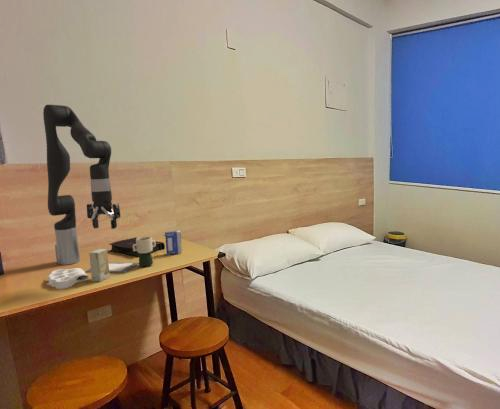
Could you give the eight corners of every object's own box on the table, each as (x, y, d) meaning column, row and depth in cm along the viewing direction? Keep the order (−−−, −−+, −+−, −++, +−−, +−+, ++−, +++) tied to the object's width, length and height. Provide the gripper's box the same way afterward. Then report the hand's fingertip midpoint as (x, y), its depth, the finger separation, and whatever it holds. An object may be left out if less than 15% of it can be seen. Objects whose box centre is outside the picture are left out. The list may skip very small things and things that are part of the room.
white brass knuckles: (90, 283, 133) (49, 293, 124) (81, 272, 147) (43, 280, 138) (89, 275, 133) (47, 284, 124) (80, 264, 147) (42, 272, 138)
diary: (137, 244, 193) (136, 236, 192) (165, 250, 179) (164, 241, 178) (108, 252, 178) (107, 243, 177) (136, 259, 164) (135, 249, 163)
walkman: (166, 255, 167) (165, 232, 165) (166, 253, 170) (165, 231, 168) (182, 253, 169) (180, 231, 167) (182, 252, 172) (180, 230, 170)
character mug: (154, 261, 158) (152, 235, 156) (160, 264, 153) (158, 237, 151) (131, 266, 151) (129, 239, 149) (137, 270, 146) (135, 241, 144)
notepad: (85, 272, 145) (85, 270, 145) (103, 262, 158) (103, 261, 158) (124, 273, 142) (124, 271, 142) (139, 263, 155) (139, 262, 154)
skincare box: (100, 282, 133) (97, 253, 131) (91, 281, 134) (88, 252, 132) (110, 276, 139) (107, 248, 137) (101, 275, 140) (98, 248, 138)
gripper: (79, 191, 132) (84, 230, 134) (110, 190, 128) (114, 230, 131) (92, 189, 139) (96, 226, 141) (121, 188, 136) (125, 226, 138)
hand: (105, 228), depth 136 cm, fingers open, 8 cm apart
